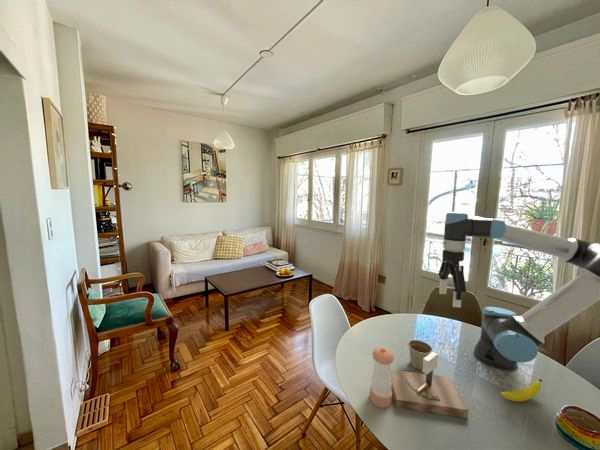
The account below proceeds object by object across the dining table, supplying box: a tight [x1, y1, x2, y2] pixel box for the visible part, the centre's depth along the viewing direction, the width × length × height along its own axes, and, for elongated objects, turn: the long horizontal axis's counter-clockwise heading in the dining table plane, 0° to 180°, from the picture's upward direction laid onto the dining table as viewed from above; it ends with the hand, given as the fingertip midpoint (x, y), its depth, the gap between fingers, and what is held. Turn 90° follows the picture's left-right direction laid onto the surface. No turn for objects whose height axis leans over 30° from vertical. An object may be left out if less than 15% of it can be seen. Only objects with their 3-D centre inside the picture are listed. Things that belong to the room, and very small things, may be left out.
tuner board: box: [391, 369, 469, 419], centre depth 89 cm, size 22×15×3 cm
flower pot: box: [407, 339, 434, 371], centre depth 105 cm, size 9×9×9 cm
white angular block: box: [417, 351, 439, 392], centre depth 89 cm, size 11×2×11 cm, turn 126°
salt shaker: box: [369, 346, 395, 409], centre depth 86 cm, size 7×7×19 cm
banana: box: [500, 378, 543, 403], centre depth 87 cm, size 3×19×6 cm, turn 104°
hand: (449, 299), depth 103 cm, fingers open, 13 cm apart
